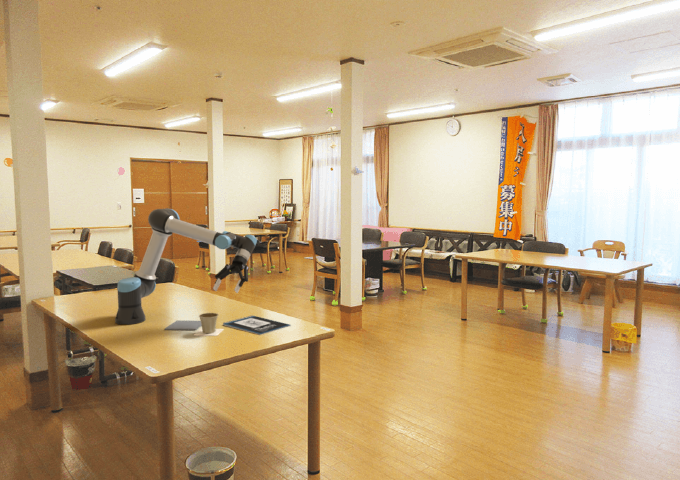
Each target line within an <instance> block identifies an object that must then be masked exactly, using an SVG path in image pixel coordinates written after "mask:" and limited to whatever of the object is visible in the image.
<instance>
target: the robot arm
mask: <svg viewBox="0 0 680 480" xmlns="http://www.w3.org/2000/svg"><path fill="white" fill-rule="evenodd" d="M147 220H148V221H147V222H148V224H149V226H150V227H151V228H150V229H151V231H152V234H151V237H150V240H149V242H148V245H147V247H146V250H145V253H144V256H143V257H142V261H141V264H140V267H139V269H138V270H136V271H135V272H134V275H133V277H132V276H131V277H126V278H122V279H119V280H118V282H117V288H116V289H117V306H118V308H117V311H116V314H115V318H114V321H115V324H116V323H117V324H116V325H121V324H127V325H136V324H139V323H143V322H145V321H146V314H145V312H144V309H143V306H142V299H144V298H145V297H148V296H151V294H153V292H154V291H155V290H156V286H157V285H156V284H157V283H156V280H157V277H156V276H157V275H155V274H156V271H157V268H158V267H159V263H160V260H161V258H162V256H163V252H164V249H165V248H166V247H165V246H166V244H167V241H168V238H169V237H170V236H172V235H173V234H177V235H180V236H182V237H186V238H190V239H192V240H195V241H199V242H202V243H205V244H209V245H211V246H215V247H216V248H218V249H219V250H227V249H229V248H234V249H237V251H236V254H235V255H234V257H233V258H232V260H231V261H232V263H231V264H228V263H226V264H225V265H224V267H223V268H222V269H221V270H219V271H218V272H217V273H216V274H215V275H214V278H215V279H216V280H215V281H214V285H213V287H212V289H213V291H215V292H217V291H218V290H219V287H220V285H221V284H222V280H223V279H225V278H226V277H228V276H229V275H232V274H237V275H238V276H239V278H240V279H239V280H238V281H237V282H236V285H235V287H234V289H233V290H234V291H235V293H236V294H238V293H239V291H240V289H241V288H242V287H243V284H244V283H245V282H249V266H248V265H247V264H248V261H249V260H250V257H251V255H252V253H253V251H254V249H255V248H256V245H257V243H258V240H257V239H258V238H256V237H255V235H253V234H246V235H244V236H242V235H238V234H236V233H233V232H231V231H226V230H224V231H222V232H219V231H217V230H216V231H215V230H213V229H209V228H206V227H203V226H200V225H197V224H194V223H191V222H188V221H184V220H181V218H180V215H179V214H178V212H177V211H176V210H174V209H172V208H168V207H166V208H156V209H154V210H152V211H151V212H150V213H149V214H148V218H147ZM242 271H243V272H242Z"/></svg>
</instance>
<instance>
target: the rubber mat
mask: <svg viewBox="0 0 680 480" xmlns="http://www.w3.org/2000/svg"><path fill="white" fill-rule="evenodd" d="M201 327H202V325H201V320H177V319H176V320H175V321H174V322H172V323H171V324H169V325H168V326H166V327H165V328H164V331H197V330H198V329H199V328H201Z"/></svg>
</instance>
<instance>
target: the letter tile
mask: <svg viewBox="0 0 680 480" xmlns="http://www.w3.org/2000/svg"><path fill="white" fill-rule="evenodd" d="M224 330H225V328H216V330H215V332H213V333H203V331H202V328H200V329H199V330H198V331H196V332H194V334H193V335H192V336H198V337H199V336H205V337H207V336H208V337H218V336H219V334H220V335H221V333H222V332H223V331H224Z"/></svg>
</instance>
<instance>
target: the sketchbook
mask: <svg viewBox="0 0 680 480" xmlns="http://www.w3.org/2000/svg"><path fill="white" fill-rule="evenodd" d="M222 326H224V327H228V328H232V329H235V330H240V331H244V332H247V333H251V334H255V335H259V336H262V335H265V334H269V333H272V332H275V331H278V330H282V329H284V328H288V327H291V326H292V325H291V324H290V323H289V324H288V323H286V322H280V321H277V320H273V319H268V318H264V317H261V316H257V315H256V316H255V315H249V316H245V317H244V316H243V317H240V318H235V319H232V320H229V321H224V322H223V323H222Z"/></svg>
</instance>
